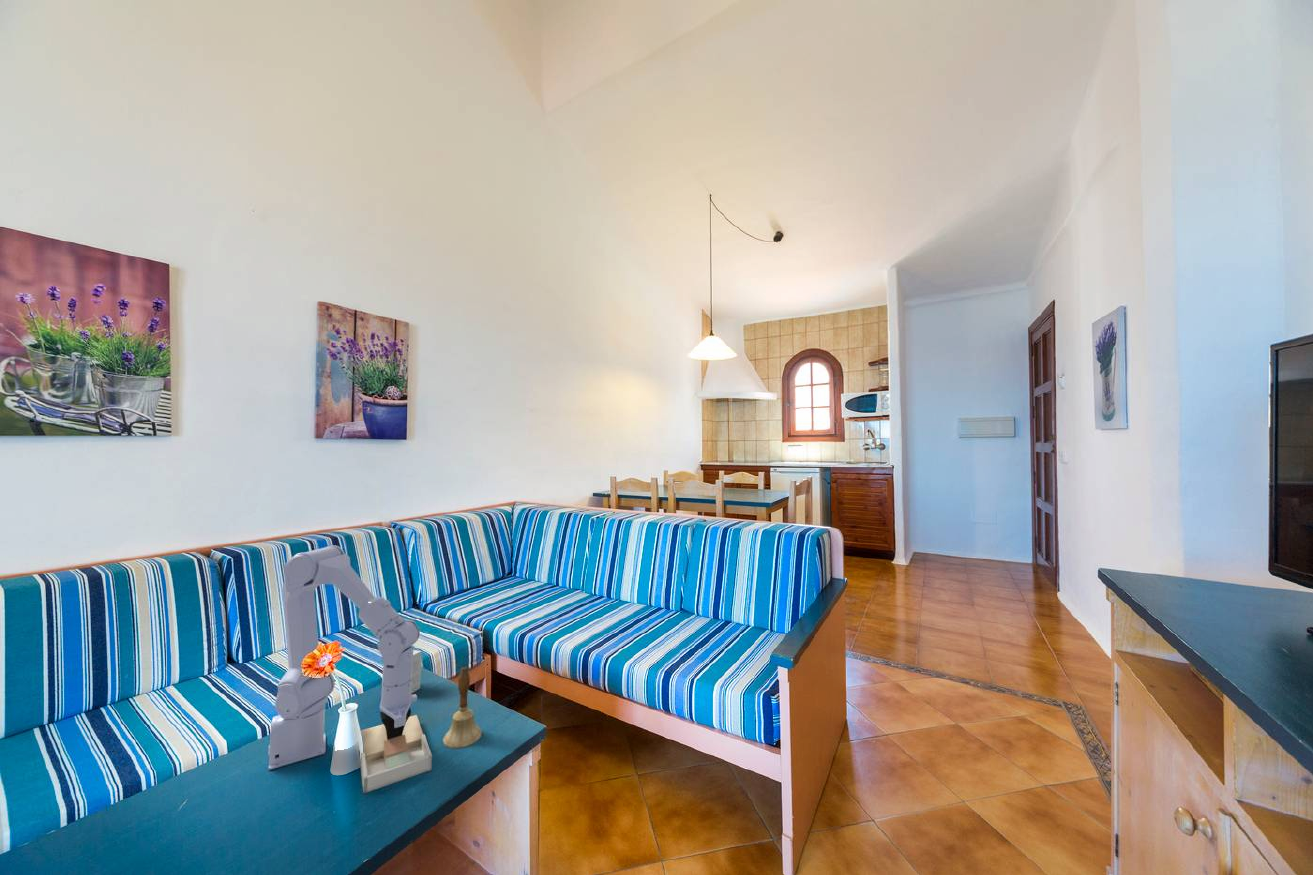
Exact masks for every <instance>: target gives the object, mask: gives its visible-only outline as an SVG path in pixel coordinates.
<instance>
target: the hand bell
mask: <svg viewBox="0 0 1313 875" xmlns="http://www.w3.org/2000/svg"><path fill="white" fill-rule="evenodd" d="M470 683H471V678H470V674H469V671H468V666H463V667H461V668H460V672H459V675H458V679H457V690H458V693H459V710H457V711H456V712H454V713H453V716H452V721H451V725H450V728H449V730H448V731H447V732H446V733H445V735H444V737H443V738H442V743H443V745H444V746H445V747H447V748H450V749H463V748H466V747H469V746H471V745H473V744H475V743H476V742H478V741H479V740H480V738H481V737H482V735H483V734H482V733H483V732H482V729H481V728H480V727H479V726H478V725H477V723H476V721H475V716H474V715H475V713H474V711H473V709H470V708H468V692H469V690H470Z"/></svg>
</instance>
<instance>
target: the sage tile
mask: <svg viewBox="0 0 1313 875" xmlns="http://www.w3.org/2000/svg"><path fill="white" fill-rule="evenodd" d="M407 762H410V759H409V755H408V751H405V752H401V753H398V754H395V755H392V756H389V757H386V758H385V770H386V769H389V768H392V767H395V766H398V765H401V764H404V763H407Z"/></svg>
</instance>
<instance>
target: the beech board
mask: <svg viewBox="0 0 1313 875" xmlns="http://www.w3.org/2000/svg"><path fill="white" fill-rule="evenodd" d="M360 731H361V734H362V740H363V753H365V760H366V763H370V762H373V761H376V760H379V759H382V758H384V756H383V744H384V741H385V740H387V735H386V728H385V726H384V724H383V723H382V724H379V725H376V726H372V727H368V728H364V729H361V730H360ZM423 734H424V733H423V729H422V726H421V723H420V721H419V718H418V714H414V715H410V717H409V718H408V720H407V722H406V725H405V727H404V730H403V733H402V735H405V737H406V744H407V750H410V749H413V748H417V747H420V746H421V737H422V735H423Z"/></svg>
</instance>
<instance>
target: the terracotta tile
mask: <svg viewBox="0 0 1313 875" xmlns="http://www.w3.org/2000/svg"><path fill="white" fill-rule="evenodd" d="M405 751H407V744H406V737H405V735H402V736H398V737H395V738H392V739H389V740H385V741H384V744H383V756H384V765H385V758H386V757H389V756H392V755H395V754H398V753H401V752H405Z"/></svg>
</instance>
